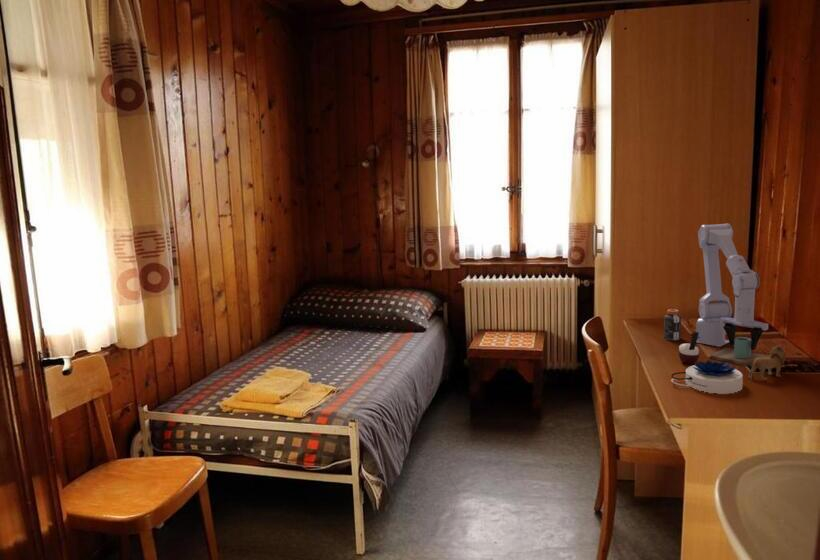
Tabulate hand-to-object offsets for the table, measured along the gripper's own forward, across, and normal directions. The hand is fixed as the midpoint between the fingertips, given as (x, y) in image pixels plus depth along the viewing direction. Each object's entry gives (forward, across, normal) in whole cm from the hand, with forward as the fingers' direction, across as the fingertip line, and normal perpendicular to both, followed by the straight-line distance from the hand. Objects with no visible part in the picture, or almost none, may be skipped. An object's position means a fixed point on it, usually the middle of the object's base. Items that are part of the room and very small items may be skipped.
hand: (742, 347), depth 207 cm
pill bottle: (+4, -29, +8) cm, 30 cm away
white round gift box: (+5, +2, -31) cm, 31 cm away
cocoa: (+4, -11, -15) cm, 19 cm away
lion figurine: (+4, +12, -12) cm, 18 cm away
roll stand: (+4, 0, 0) cm, 4 cm away
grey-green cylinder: (+3, 0, 0) cm, 3 cm away
